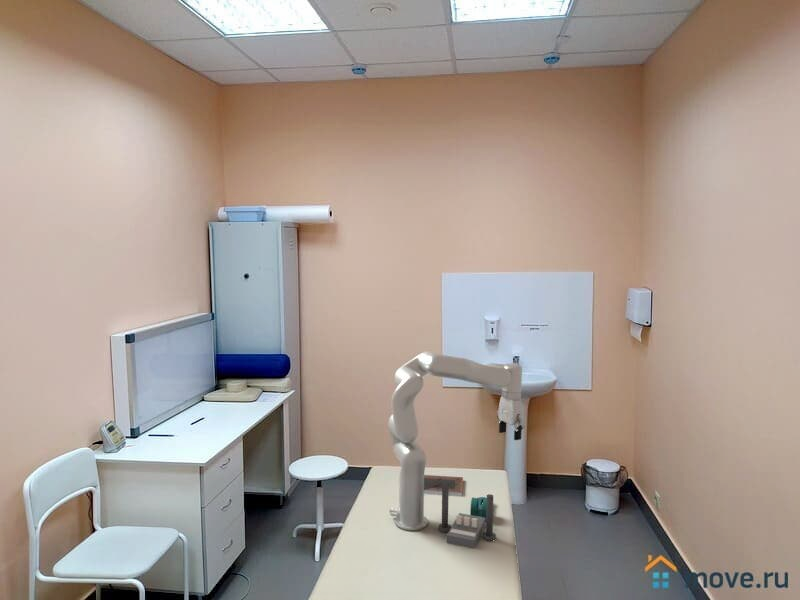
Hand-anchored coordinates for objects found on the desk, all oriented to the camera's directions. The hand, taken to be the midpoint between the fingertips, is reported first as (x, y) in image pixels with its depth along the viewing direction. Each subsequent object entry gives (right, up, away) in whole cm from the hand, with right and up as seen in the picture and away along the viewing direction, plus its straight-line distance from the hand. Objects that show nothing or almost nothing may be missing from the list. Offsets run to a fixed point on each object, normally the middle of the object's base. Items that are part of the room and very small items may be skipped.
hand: (509, 435), depth 226 cm
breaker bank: (-20, -29, -18) cm, 39 cm away
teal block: (-11, -31, +1) cm, 33 cm away
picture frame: (-27, -30, +24) cm, 47 cm away
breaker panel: (-20, -32, -17) cm, 42 cm away
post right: (-12, -33, -20) cm, 40 cm away
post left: (-28, -32, -14) cm, 45 cm away
